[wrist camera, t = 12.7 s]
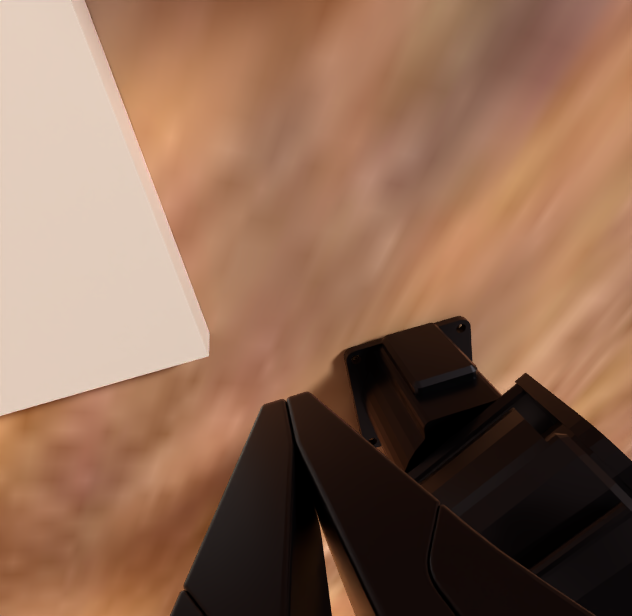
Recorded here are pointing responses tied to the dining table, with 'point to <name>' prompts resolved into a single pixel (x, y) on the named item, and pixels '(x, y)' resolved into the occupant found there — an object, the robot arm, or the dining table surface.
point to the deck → (79, 221)
